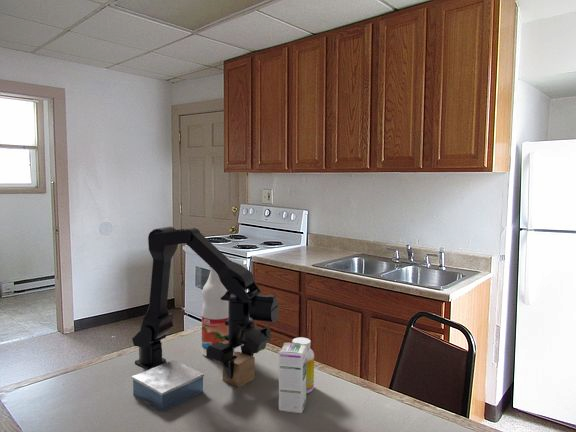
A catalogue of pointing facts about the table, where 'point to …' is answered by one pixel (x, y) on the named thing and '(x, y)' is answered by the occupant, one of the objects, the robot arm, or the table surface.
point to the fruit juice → (214, 312)
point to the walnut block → (241, 370)
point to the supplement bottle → (308, 363)
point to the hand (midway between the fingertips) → (238, 373)
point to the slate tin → (167, 385)
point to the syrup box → (292, 377)
